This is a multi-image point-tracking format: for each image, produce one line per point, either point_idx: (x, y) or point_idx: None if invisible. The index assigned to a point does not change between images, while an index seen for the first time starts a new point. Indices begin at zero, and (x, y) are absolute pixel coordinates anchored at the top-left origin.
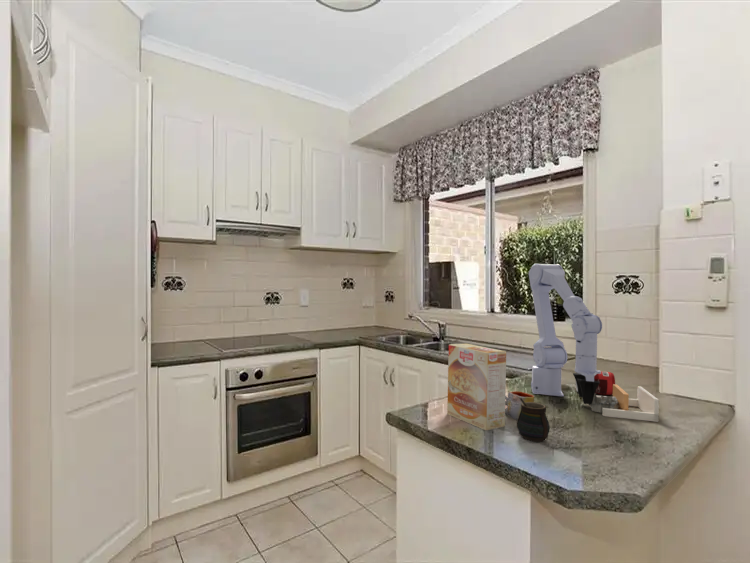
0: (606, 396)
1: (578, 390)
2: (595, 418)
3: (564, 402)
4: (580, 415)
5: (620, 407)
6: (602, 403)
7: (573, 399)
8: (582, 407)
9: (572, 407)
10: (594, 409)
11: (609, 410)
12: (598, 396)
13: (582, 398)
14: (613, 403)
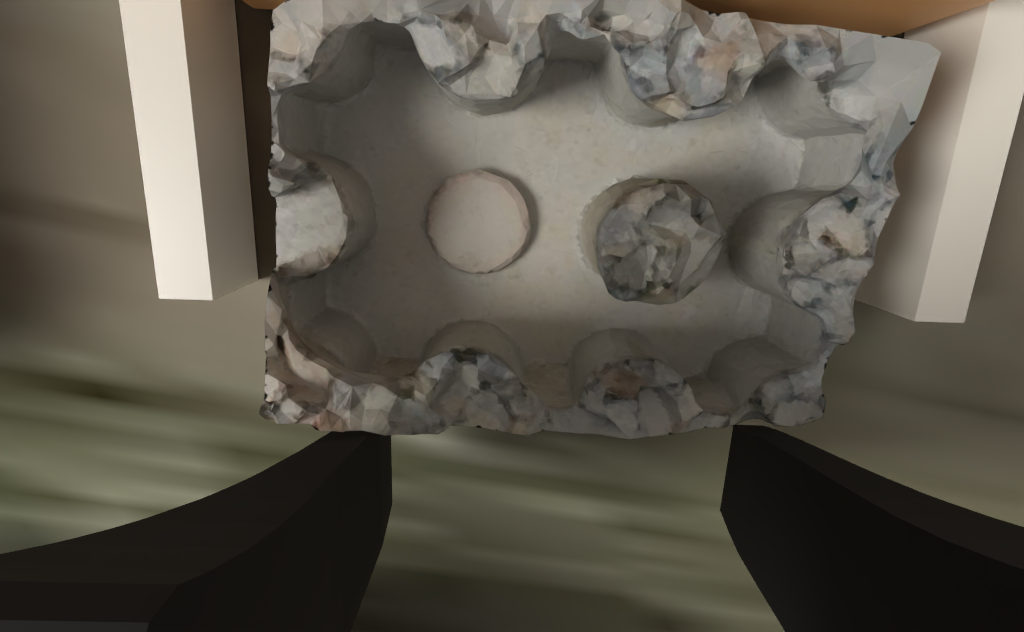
0: (134, 68)
1: (365, 586)
2: (995, 400)
3: (418, 598)
4: None
5: (756, 9)
6: (793, 294)
7: (218, 486)
8: (573, 450)
9: (610, 550)
10: (722, 360)
11: (976, 240)
12: (202, 214)
13: (751, 567)
14: (896, 144)
